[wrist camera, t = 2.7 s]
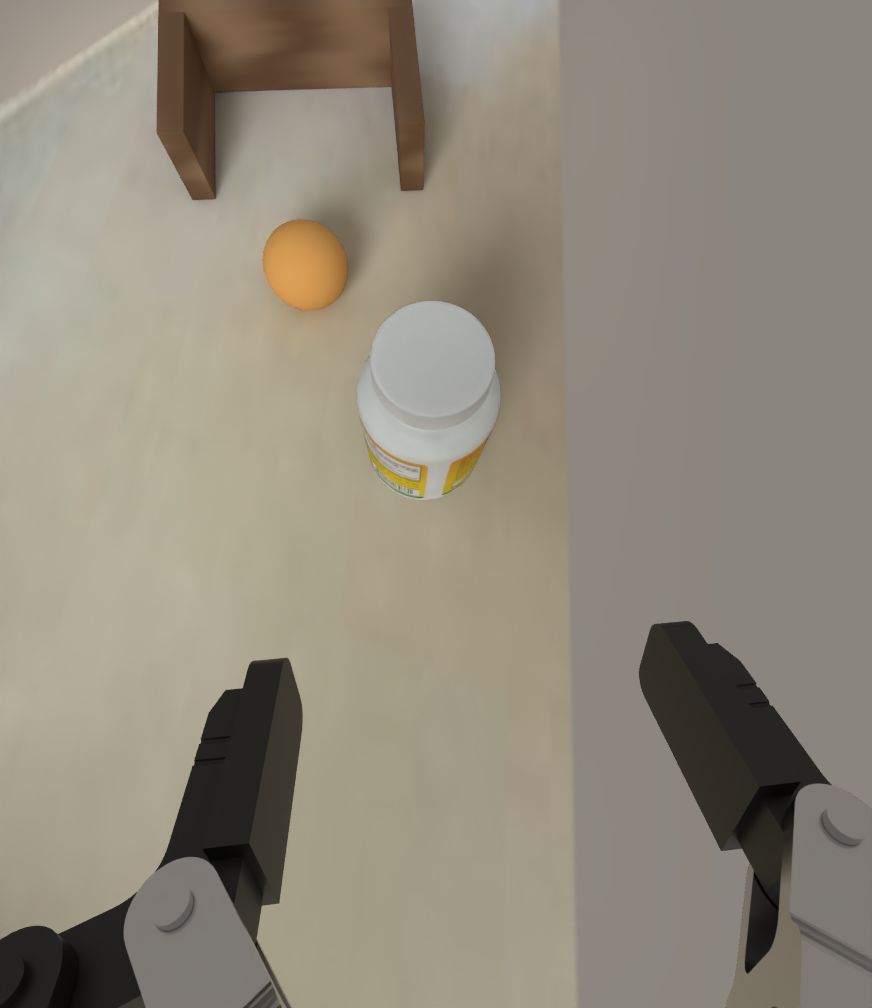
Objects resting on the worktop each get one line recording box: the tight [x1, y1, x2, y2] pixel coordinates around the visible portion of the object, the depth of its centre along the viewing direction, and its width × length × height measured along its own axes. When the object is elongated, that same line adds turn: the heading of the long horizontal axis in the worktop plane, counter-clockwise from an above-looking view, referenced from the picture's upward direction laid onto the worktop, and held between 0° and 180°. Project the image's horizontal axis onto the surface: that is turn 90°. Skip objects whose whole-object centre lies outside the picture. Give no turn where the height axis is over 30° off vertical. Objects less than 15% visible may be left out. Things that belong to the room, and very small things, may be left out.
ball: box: [263, 220, 348, 311], centre depth 25 cm, size 4×4×4 cm
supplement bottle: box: [357, 301, 501, 500], centre depth 21 cm, size 5×5×10 cm
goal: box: [157, 0, 425, 200], centre depth 27 cm, size 12×8×4 cm, turn 95°
